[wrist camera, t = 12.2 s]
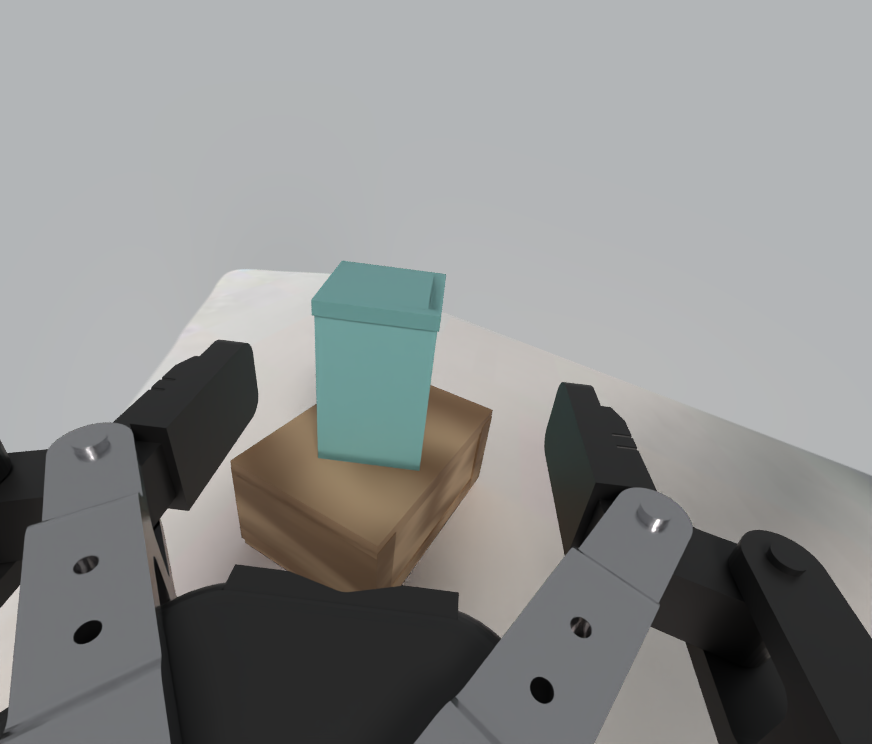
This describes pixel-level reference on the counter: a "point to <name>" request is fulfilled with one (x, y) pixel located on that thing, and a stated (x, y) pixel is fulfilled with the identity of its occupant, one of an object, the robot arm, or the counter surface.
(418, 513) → the wooden crate
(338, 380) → the teal lidded bin
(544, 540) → the counter surface
